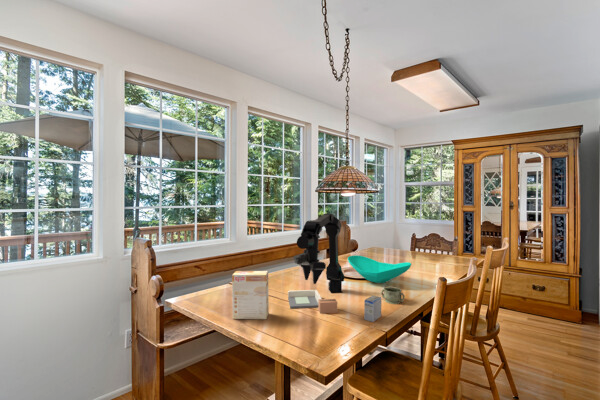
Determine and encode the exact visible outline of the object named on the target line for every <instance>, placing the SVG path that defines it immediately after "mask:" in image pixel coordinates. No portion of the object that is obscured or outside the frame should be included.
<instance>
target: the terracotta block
mask: <svg viewBox="0 0 600 400" xmlns="http://www.w3.org/2000/svg"><path fill="white" fill-rule="evenodd" d="M317 308H318V312H319V314H337V313H338V301H337V299H336V298H321V299H318V307H317Z"/></svg>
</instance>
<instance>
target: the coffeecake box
mask: <svg viewBox="0 0 600 400" xmlns="http://www.w3.org/2000/svg"><path fill="white" fill-rule="evenodd" d="M231 279H232V281H231V283H232V285H231V289H232V290H231V291H232V294H231V297H232V320H267V319H268V316H269V311H270V310H269V309H270V308H269V307H270V306H269V271H268V270H236V271H234V273H232V275H231Z"/></svg>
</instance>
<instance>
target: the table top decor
mask: <svg viewBox="0 0 600 400" xmlns="http://www.w3.org/2000/svg"><path fill="white" fill-rule="evenodd" d="M347 262H348V263H349V265H350V266H351V267H352V268H353V269H354V270H355V271H356V272H357V273H358V274H359V275H360V276H361V277H363V278H364V279H365V280H367V281H369V282H371V283H377V284H384V283H387V282H389V281H391V280H394V279H395V278H397V277H400V276H402V275H403V274H405V273H406V272H408V270H409V269H410V268H411V266H412V263H411V262H407V261H405V262H399V263H388V262H382V261H378V260H375V259H373V258H370V257H367V256H364V255H350V256H348V257H347Z"/></svg>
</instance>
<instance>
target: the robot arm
mask: <svg viewBox="0 0 600 400" xmlns="http://www.w3.org/2000/svg"><path fill="white" fill-rule="evenodd" d="M323 227H324V229H325V233H326V235H327V236H328V249H329V250H328V252H329V254H328V256H329V257H328V259H329V263H328V265H327V264H326V263H325V262H323V261H320V259H319V254H320V250H319V242H320V241H319V239H320V238H321V236H320V234H321V232H322V231H323ZM341 229H342V222H341V221H340V219H339V218H337V217H335V216H334V214H332V213H323V214H322V215H321V216H319V217H318V218H316V219H312V220H307V221H306V222H304V225H303V228H302V231H301V233H300V236H299V237H298V238H297V240H296V245H297V247H298V248H299V249H301V250H303V252H302V253H300V254H299V253H298V254H296V255H294V256H293V257H292V258H293V260H294V264H297V265H299V266H300V267H301V269H302V271H303V276H304V280H305V281H308V280H309V276H310V274H311V273H312V283H313V285H317V283H318V280H319V278H320V277H321V275H322V273H323V272H324V271H325V270H326V271H325V276H326V281H328V286H327V287H328V291H329V292H330V293H331V294H335V293H338V294H339V293H343V290H342V285H343V282H344V281H345V274H344V273H343V270H342V265H341V263H339V243H338V242H339V240H338V239H339V238H338V236H339V234H340V233H341Z"/></svg>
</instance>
